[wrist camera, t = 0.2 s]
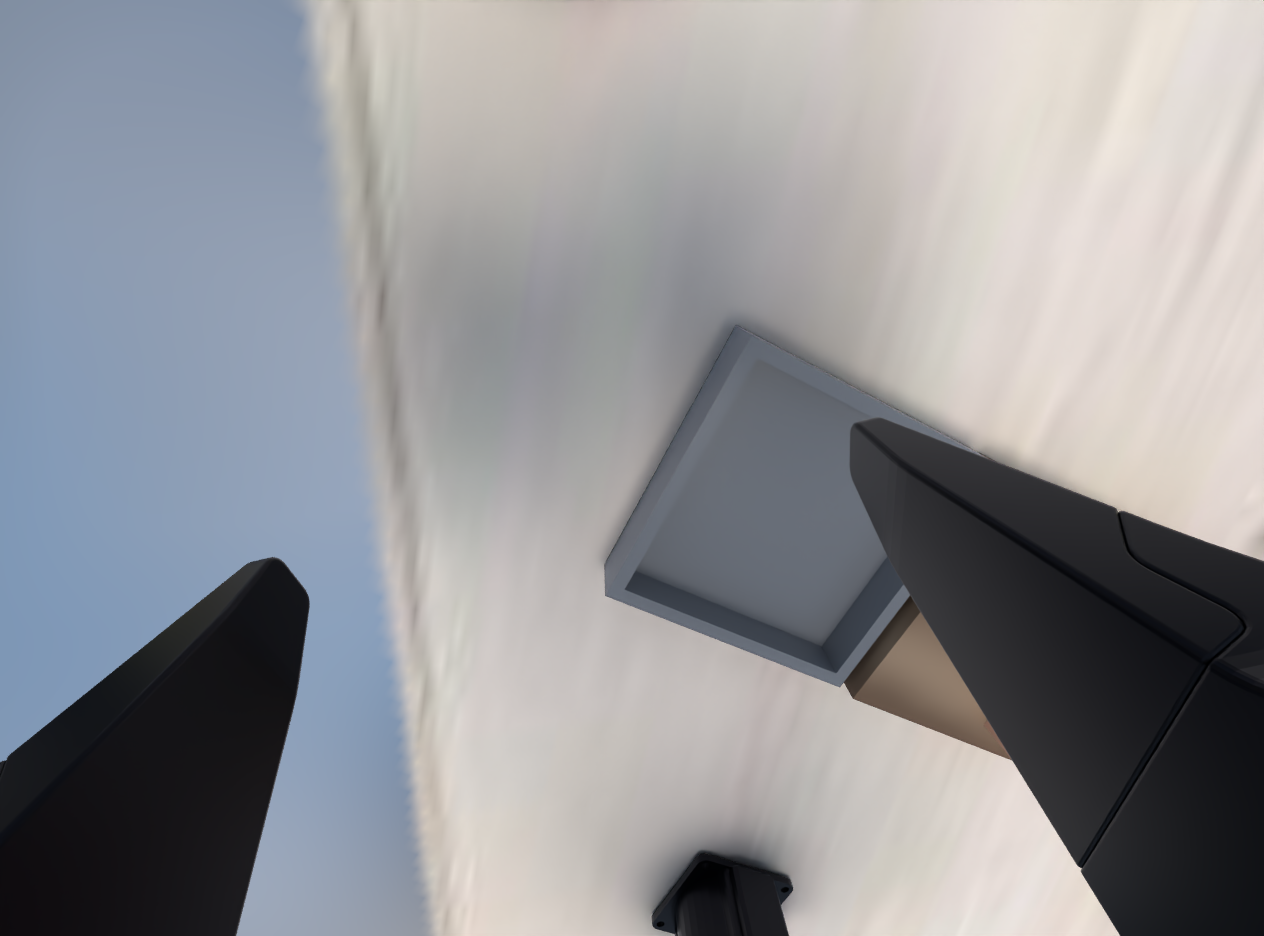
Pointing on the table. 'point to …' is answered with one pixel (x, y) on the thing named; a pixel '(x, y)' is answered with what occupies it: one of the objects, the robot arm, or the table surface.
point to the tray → (765, 518)
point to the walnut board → (919, 681)
